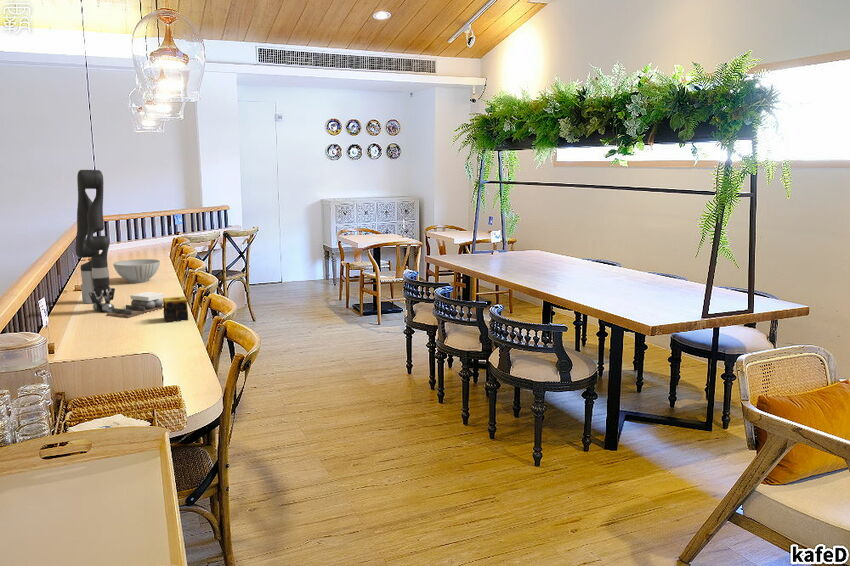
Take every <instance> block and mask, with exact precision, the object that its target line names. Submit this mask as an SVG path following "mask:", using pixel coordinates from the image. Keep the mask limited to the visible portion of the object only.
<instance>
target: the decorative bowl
mask: <svg viewBox="0 0 850 566" xmlns="http://www.w3.org/2000/svg"><path fill="white" fill-rule="evenodd" d="M160 265H161V261H160V260H159V259H153V258H152V259H151V258H149V259H148V258H144V259H143V258H142V259H137V258H136V259H127V260H119V261H115V262H113V264H112V266H113V268H114V270H115V272H116V273H117V274H118V275H119V276H120V277H121V278H122V279H124V280H126V282H127V283H130V284H131V283H132V284H139V283H145V282H146V283H147V282H149V281H150V279H151V278H152V277H154V275H155V274H156V273H157V272H158V270H159V267H160Z"/></svg>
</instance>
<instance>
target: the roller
mask: <svg viewBox="0 0 850 566" xmlns="http://www.w3.org/2000/svg"><path fill="white" fill-rule="evenodd" d="M92 304H93V305H92V308H93V310H94V311H97V312H99V311H98V310H97V304H96V303H92ZM101 304H102V311H101V312H105V313H106V312H107V313H110V312H112V308H115V305H114V304H112V303H110V304H106V303H105V302H101Z"/></svg>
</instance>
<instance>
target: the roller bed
mask: <svg viewBox="0 0 850 566" xmlns="http://www.w3.org/2000/svg"><path fill="white" fill-rule="evenodd" d="M162 308H164V306H163V299H162V298H160V299H156V300H151V301H143V300H133V299H131V302H130V304H126V305H125V308H115V307H114V308H112V312H107V313H106V316H110V317H116V318H124V319H125V318H126V319H129V318H133V317H138V316H141V315H145V314H148V313H147V312H149V313H152V312H151V311H153V312H156V311H155V310H157V311H159V310H158V309H160V310H163V309H162ZM144 313H145V314H144ZM140 314H141V315H140ZM137 315H138V316H137Z"/></svg>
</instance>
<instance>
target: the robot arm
mask: <svg viewBox="0 0 850 566" xmlns="http://www.w3.org/2000/svg"><path fill="white" fill-rule="evenodd" d="M76 179H77V211H76V235H75V236H76V238H75V247H74V248H75V249H74V250H75V255H76V256H77V257H78V258H82V259H84V258H90V260H88V261H87V262H85V263H82V264H81V265H80V277H81V285H80V286H81V287H80V288H81V289H80V290H81V298H82V299H81V301H82V302H83V303H84V304H94V303H96V304H97V310H98V311H97V310H96V311H97V312H103V311H102V304H101V303H103V302H104V303H106V304H111V301H113V300H114V298H115V291H116V289H115V288H114V287H110V285H111V283H110V273H109V272H110V271H109V267H108V266H109V265H108V252H109V249H110V239H109V237H108V236H107V235H94V234H95V233H98V232H102V231H104V229H105V225H104V211H103V209H104V206H103V205H104V175H103V173H102V171H101V170H99V169H79V170H78V172H77V176H76ZM87 189H88V190H90V189H91V190H95V196H94V199H93V201H92V199H91V198H90V197H89V195H88V193H87V192H86V190H87ZM100 251H101V252H100Z"/></svg>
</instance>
